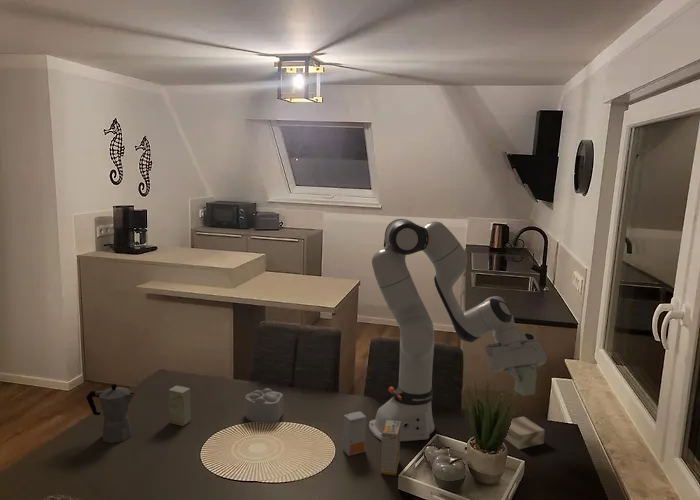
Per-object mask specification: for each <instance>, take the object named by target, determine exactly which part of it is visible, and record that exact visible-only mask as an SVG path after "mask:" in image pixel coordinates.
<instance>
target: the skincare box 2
mask: <svg viewBox="0 0 700 500" xmlns="http://www.w3.org/2000/svg"><path fill="white" fill-rule="evenodd" d="M342 425H343V426H342V428H343V429H342V432H343V433H342V450H343V452H344V453H345V454H346V455H347V456H348V457H350V456H354V455H358V454H361V453H365V452H366V434H367V433H366V430H367V415H365V414H364V413H363V412H362V411H360V410H359V411H354V412H349V413H347V414H344V415H343V424H342Z"/></svg>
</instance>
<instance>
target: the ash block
mask: <svg viewBox="0 0 700 500" xmlns="http://www.w3.org/2000/svg"><path fill="white" fill-rule="evenodd" d="M511 419H512V421H511V425H510V427H509V430H508V433H507V436H506V438H504V439H505V440H506V441H508V442H509V444H511V445H513V446H514V447H515V448H516V449H518V450H522V449H527V448H530V447H535V446H538V445H543V444H545V432H546V431H545V429H544V428H543V427H541V426H539V425H538V424H536V423H535V422H534V421H532V420H530V419H529V418H527V417H525V415H524V416H519V417H514V418H511Z"/></svg>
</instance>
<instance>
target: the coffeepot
mask: <svg viewBox="0 0 700 500" xmlns="http://www.w3.org/2000/svg"><path fill="white" fill-rule="evenodd" d="M110 387H111V388H106V389H104V390H91V391H90V392H89V393H88V394H86V401H87V402H88V405H89V407H90V410H91V412H92V414H93V415H94V416H101V414H102V415H103V418H104V419H103V427H102V435H101V436H102V438H101V439H102V441H103V442H104V441H105V443H106V442H109V443H108V444H115V442H118V443H121V442H124V441H126V440H128V439H129V438H130V437H131V436H132V430H131V426H130V425H131V424H130V422H129V417H128V410H129V409H128V408H129V405H130V403H131V401H132V399H133V397H134V396H136V393H135V392H134V391H130V389H129V388H127V387H122V386H117V383H112V384H110ZM93 397H95V398H99V401H100V402H99V403H100V406H101V410H102V412H99V411H97V407H96V405H95V401H94V399H93ZM127 438H128V439H127ZM120 441H121V442H120Z"/></svg>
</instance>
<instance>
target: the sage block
mask: <svg viewBox="0 0 700 500" xmlns="http://www.w3.org/2000/svg"><path fill="white" fill-rule="evenodd" d="M515 372H516V373H517V374H518V375H520V376H521V378H522V381H521V382H516V381H515V380H514V391H515V392H517V394H519V395H521V396H522V397H525V396H526V397H527V396H532V395H535V394H536V385H537V384H536V383H537V378H536V375H537V372H538V371H537V369H536V370H535V369H533V368H531V367H529V366H521V367H516V369H515Z"/></svg>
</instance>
